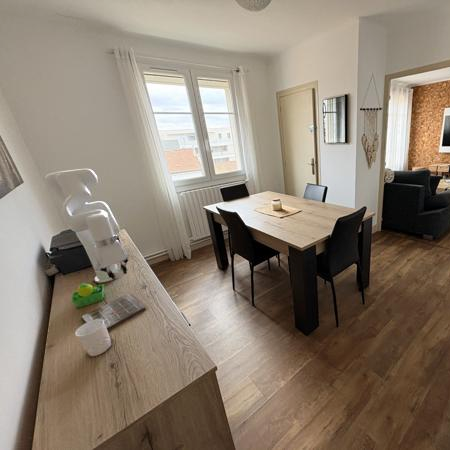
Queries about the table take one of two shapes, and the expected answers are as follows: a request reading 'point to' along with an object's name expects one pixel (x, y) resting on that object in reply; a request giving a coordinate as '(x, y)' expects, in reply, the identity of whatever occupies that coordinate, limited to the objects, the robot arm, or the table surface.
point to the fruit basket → (87, 295)
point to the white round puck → (118, 273)
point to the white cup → (94, 337)
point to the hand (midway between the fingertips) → (118, 275)
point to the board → (116, 311)
